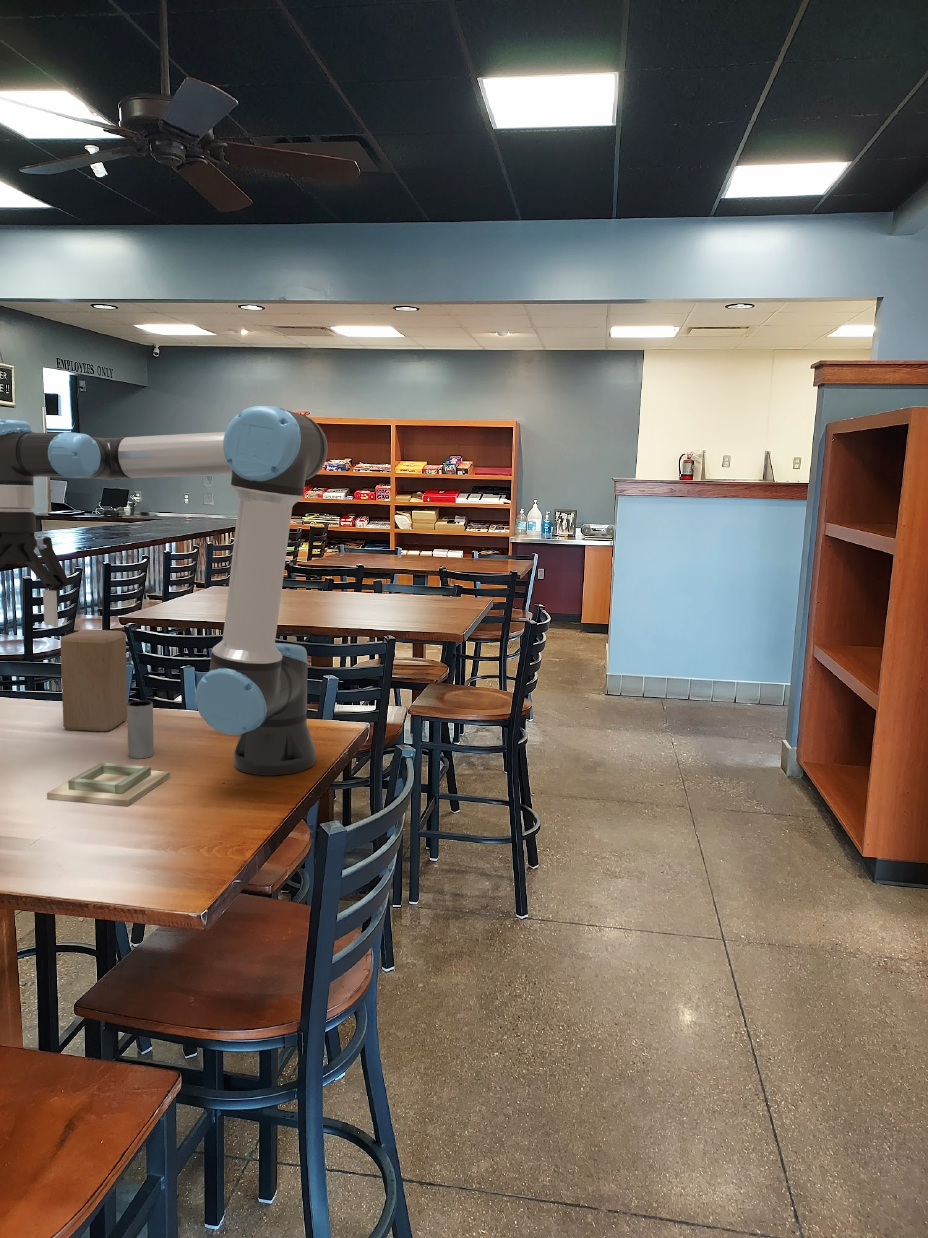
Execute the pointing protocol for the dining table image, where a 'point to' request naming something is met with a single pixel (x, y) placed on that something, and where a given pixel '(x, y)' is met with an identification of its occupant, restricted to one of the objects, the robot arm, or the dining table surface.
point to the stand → (110, 784)
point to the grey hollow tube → (140, 729)
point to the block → (94, 680)
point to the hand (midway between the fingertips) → (17, 630)
